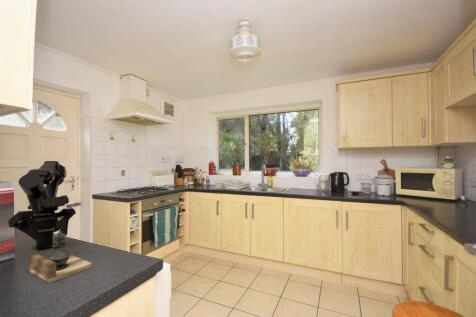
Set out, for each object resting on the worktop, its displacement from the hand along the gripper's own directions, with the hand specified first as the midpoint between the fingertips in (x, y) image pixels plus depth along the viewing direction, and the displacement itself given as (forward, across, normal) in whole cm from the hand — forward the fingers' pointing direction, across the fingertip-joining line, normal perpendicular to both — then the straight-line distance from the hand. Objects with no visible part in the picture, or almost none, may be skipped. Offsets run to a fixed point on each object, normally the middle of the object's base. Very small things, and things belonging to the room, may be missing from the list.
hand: (52, 237), depth 79 cm
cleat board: (+12, -1, 0) cm, 12 cm away
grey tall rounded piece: (+11, -2, -1) cm, 11 cm away
